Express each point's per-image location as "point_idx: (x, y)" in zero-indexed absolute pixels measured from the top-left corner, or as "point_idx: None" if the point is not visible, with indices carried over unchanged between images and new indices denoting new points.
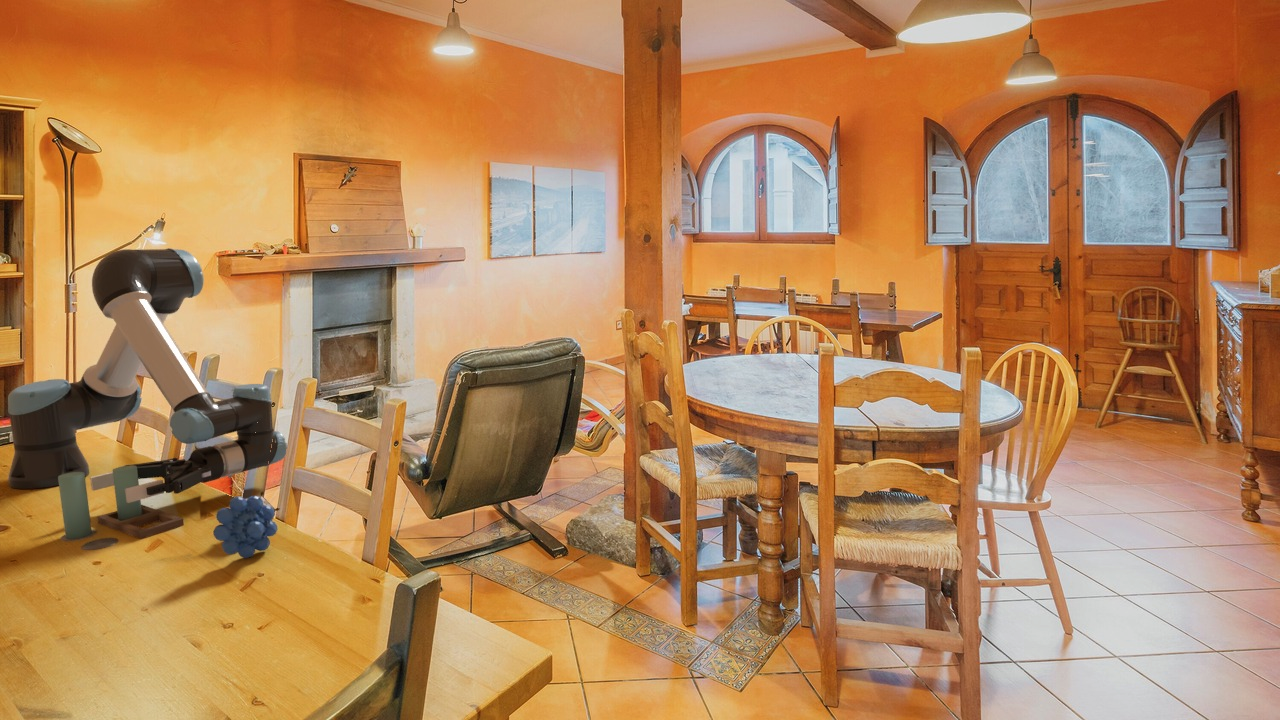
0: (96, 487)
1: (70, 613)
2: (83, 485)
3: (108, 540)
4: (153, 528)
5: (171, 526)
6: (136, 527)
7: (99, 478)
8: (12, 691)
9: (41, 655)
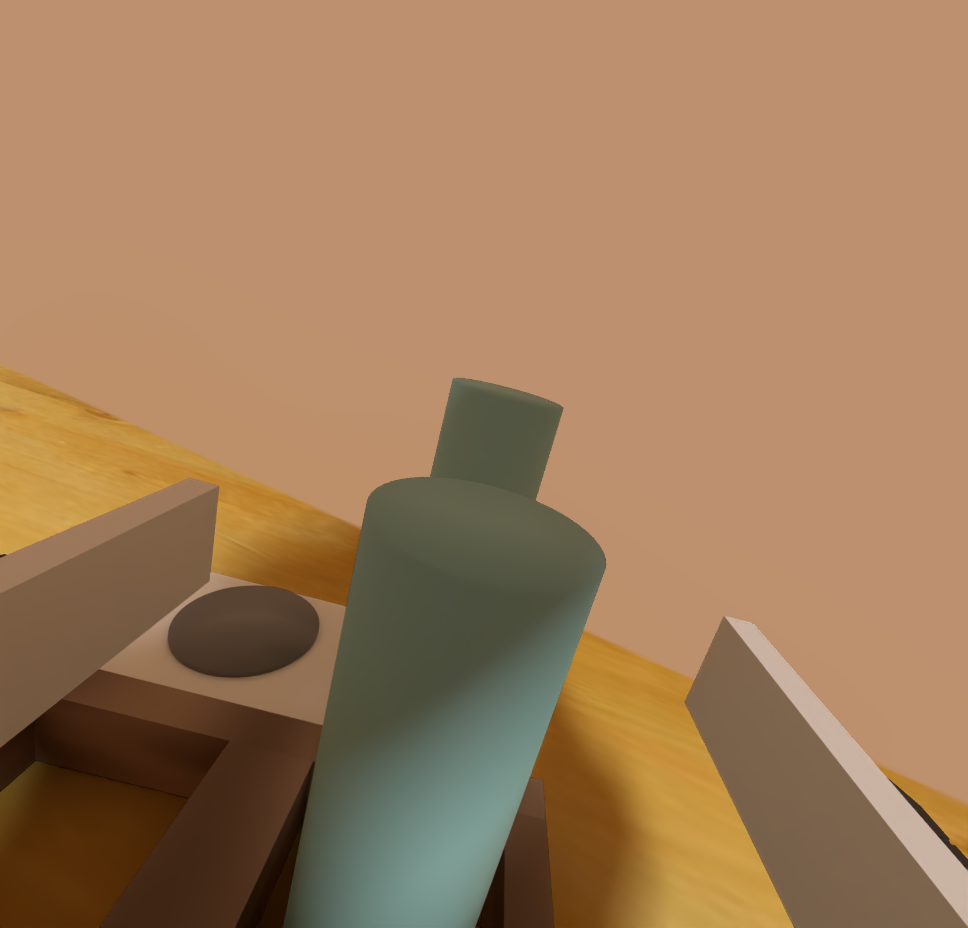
0: (700, 703)
1: (52, 444)
2: (444, 443)
3: (235, 650)
4: None
5: None
6: (107, 701)
7: (739, 666)
8: (17, 372)
9: (24, 396)
